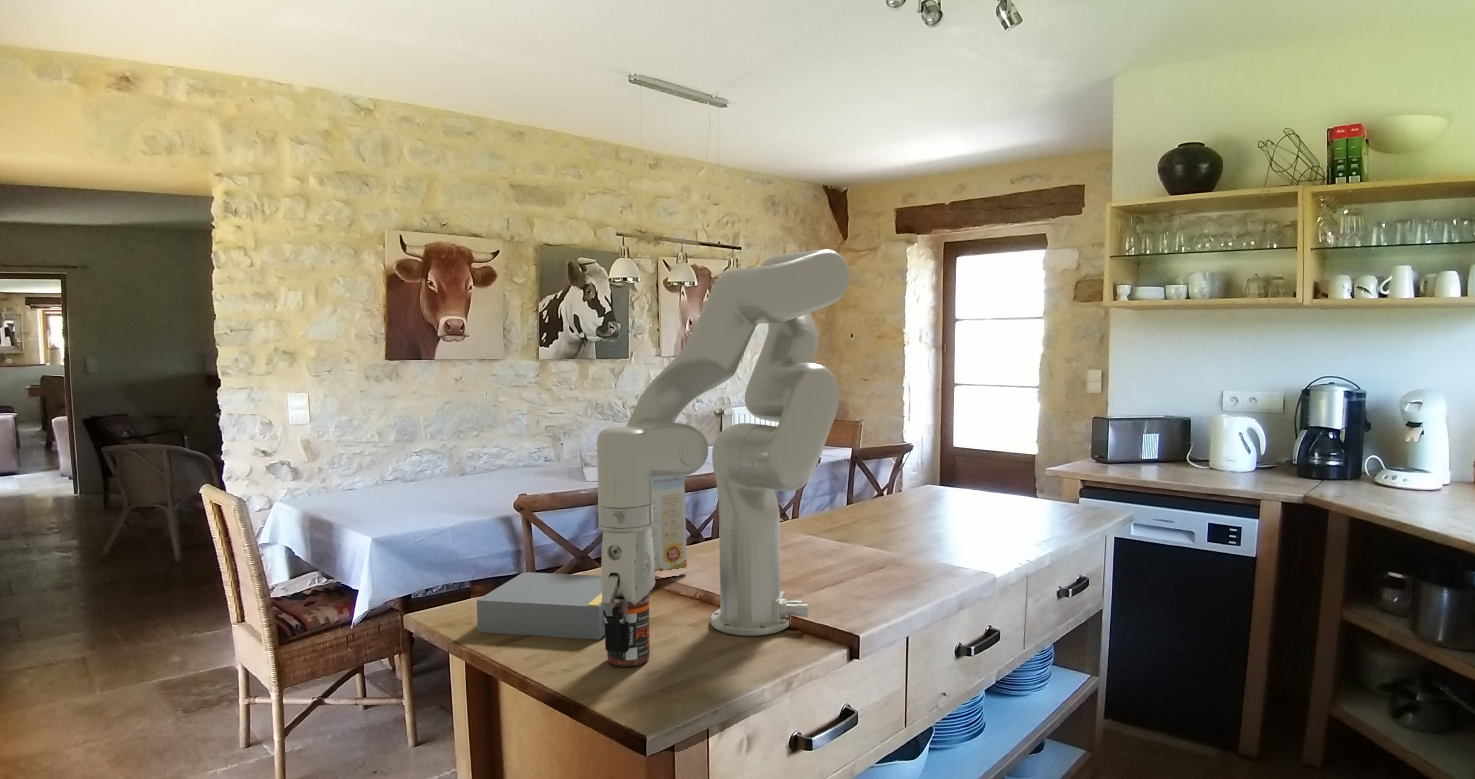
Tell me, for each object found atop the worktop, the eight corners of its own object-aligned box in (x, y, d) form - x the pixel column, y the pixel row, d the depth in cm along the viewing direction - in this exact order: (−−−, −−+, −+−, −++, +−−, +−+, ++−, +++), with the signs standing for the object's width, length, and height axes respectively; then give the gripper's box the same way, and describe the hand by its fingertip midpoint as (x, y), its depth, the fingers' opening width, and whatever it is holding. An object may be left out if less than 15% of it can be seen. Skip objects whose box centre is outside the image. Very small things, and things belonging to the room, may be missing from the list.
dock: (638, 606, 141) (637, 576, 140) (604, 639, 125) (603, 605, 125) (524, 600, 145) (523, 570, 145) (477, 631, 129) (476, 598, 129)
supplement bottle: (643, 669, 114) (642, 587, 113) (601, 667, 115) (599, 586, 114) (654, 653, 119) (653, 575, 119) (614, 651, 120) (613, 574, 120)
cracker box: (674, 568, 164) (672, 463, 163) (688, 576, 159) (686, 467, 158) (607, 579, 157) (604, 469, 156) (619, 587, 152) (616, 473, 151)
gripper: (631, 531, 107) (633, 664, 108) (669, 504, 124) (671, 620, 125) (576, 529, 108) (579, 660, 109) (621, 503, 125) (623, 617, 126)
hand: (628, 638), depth 117 cm, fingers open, 8 cm apart
